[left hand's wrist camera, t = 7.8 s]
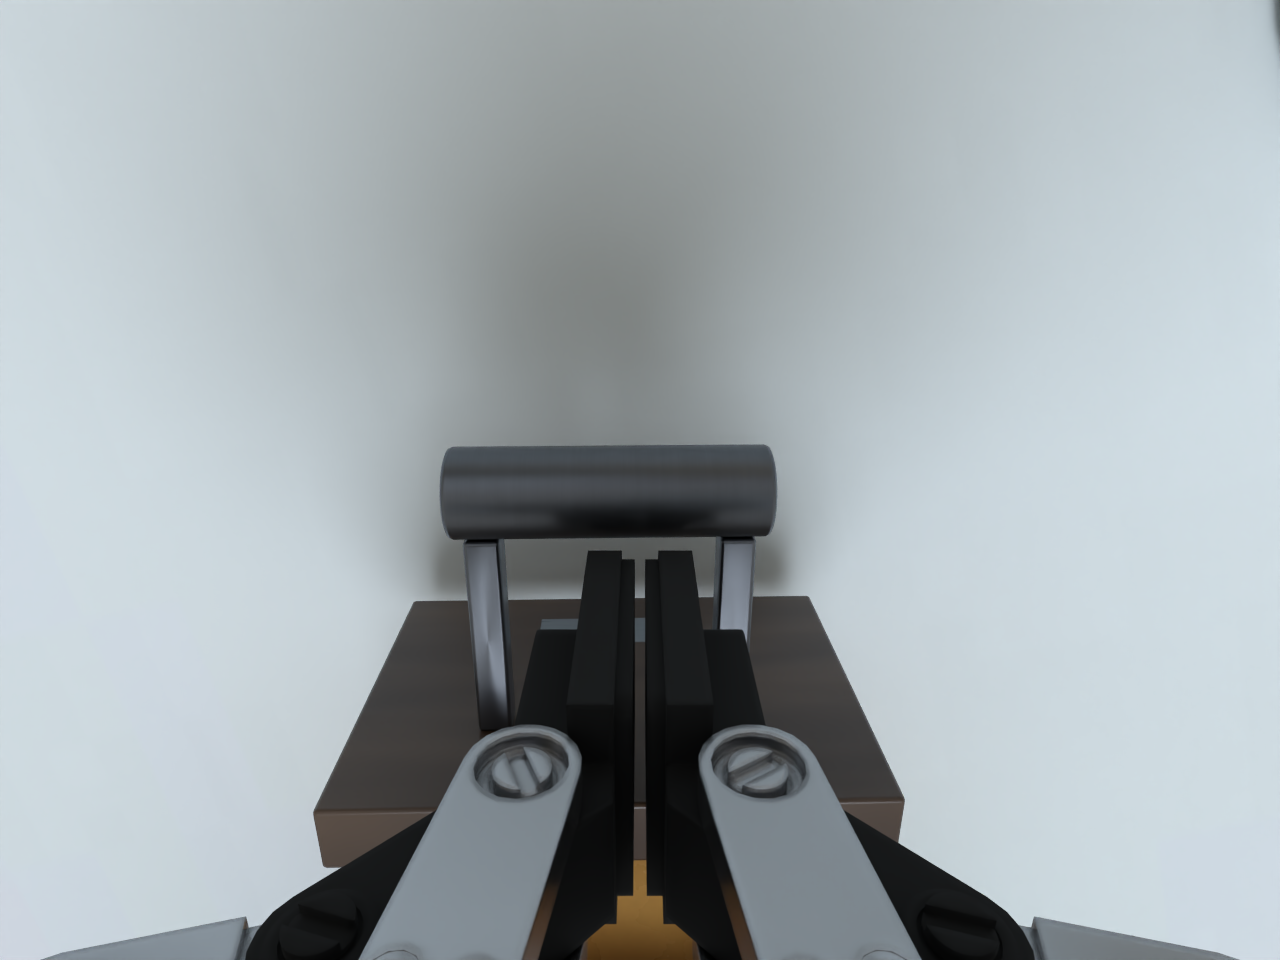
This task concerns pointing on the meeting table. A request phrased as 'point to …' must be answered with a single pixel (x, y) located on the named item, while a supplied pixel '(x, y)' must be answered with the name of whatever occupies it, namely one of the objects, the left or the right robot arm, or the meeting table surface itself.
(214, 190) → the meeting table surface
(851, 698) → the drawer
